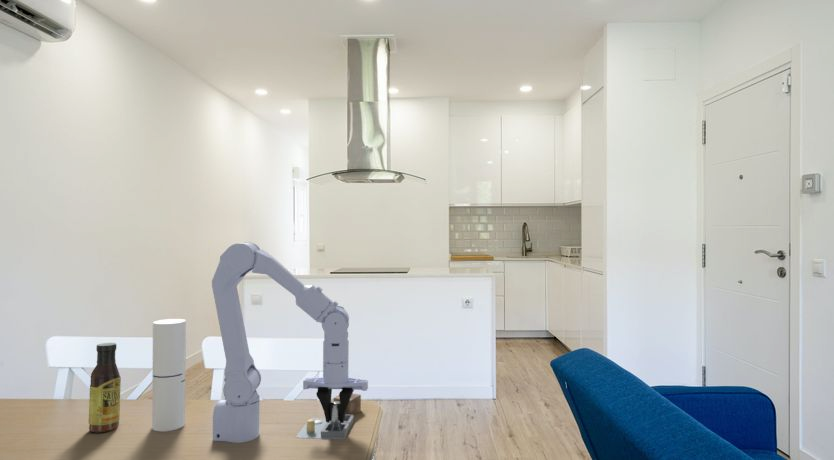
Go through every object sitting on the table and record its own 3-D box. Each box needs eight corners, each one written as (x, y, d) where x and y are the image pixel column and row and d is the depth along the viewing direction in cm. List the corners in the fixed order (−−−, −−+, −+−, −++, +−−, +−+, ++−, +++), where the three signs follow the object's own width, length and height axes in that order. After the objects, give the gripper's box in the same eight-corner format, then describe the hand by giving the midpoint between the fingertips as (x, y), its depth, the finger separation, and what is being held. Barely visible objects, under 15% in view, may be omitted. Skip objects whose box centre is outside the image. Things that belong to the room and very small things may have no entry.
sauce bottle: (105, 435, 119) (105, 348, 119) (81, 432, 120) (82, 346, 120) (126, 424, 125) (127, 342, 125) (104, 422, 127) (104, 340, 127)
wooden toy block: (350, 420, 129) (350, 400, 129) (333, 417, 130) (333, 397, 130) (360, 414, 133) (360, 394, 133) (343, 411, 135) (343, 392, 135)
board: (295, 442, 115) (295, 426, 116) (310, 422, 127) (310, 407, 127) (344, 443, 115) (344, 427, 115) (354, 423, 127) (354, 409, 127)
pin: (331, 427, 120) (331, 401, 120) (342, 427, 120) (342, 401, 120) (328, 431, 117) (328, 404, 117) (340, 431, 117) (340, 405, 117)
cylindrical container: (145, 428, 123) (146, 322, 123) (172, 418, 130) (172, 317, 130) (165, 433, 120) (166, 325, 120) (191, 423, 126) (192, 320, 126)
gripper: (370, 357, 122) (369, 415, 122) (309, 356, 123) (309, 413, 123) (365, 365, 115) (364, 426, 115) (300, 363, 116) (300, 424, 116)
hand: (335, 420), depth 118 cm, fingers closed on pin, 3 cm apart
